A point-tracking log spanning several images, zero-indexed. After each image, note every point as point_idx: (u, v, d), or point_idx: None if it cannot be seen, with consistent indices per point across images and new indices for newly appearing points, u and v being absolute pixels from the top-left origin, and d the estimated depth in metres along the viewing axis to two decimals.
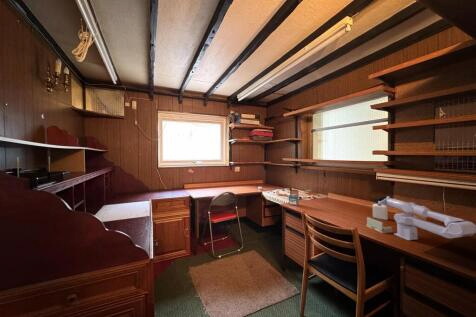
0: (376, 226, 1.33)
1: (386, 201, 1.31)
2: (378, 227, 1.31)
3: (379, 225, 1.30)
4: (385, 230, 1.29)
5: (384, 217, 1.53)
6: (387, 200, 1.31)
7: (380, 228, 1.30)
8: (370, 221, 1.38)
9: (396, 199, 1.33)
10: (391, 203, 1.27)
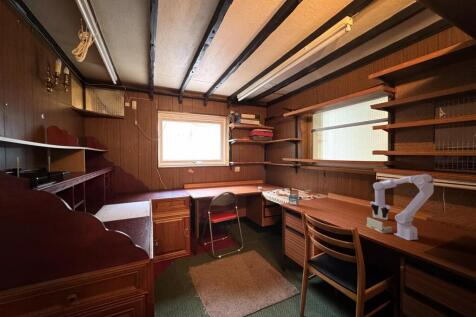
0: (376, 226, 1.33)
1: (382, 204, 1.32)
2: (378, 227, 1.31)
3: (379, 225, 1.30)
4: (385, 230, 1.29)
5: None
6: (380, 203, 1.33)
7: (380, 228, 1.30)
8: (370, 221, 1.38)
9: None
10: (382, 199, 1.32)
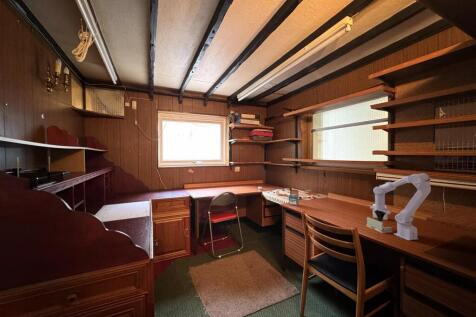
0: (376, 226, 1.33)
1: (382, 209, 1.32)
2: (378, 227, 1.31)
3: (379, 225, 1.30)
4: (385, 230, 1.29)
5: (384, 217, 1.53)
6: (381, 208, 1.33)
7: (380, 228, 1.30)
8: (370, 221, 1.38)
9: (370, 206, 1.42)
10: (383, 204, 1.32)
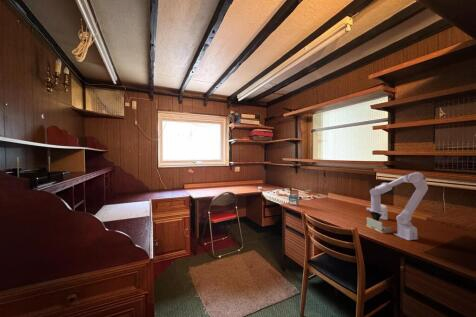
0: (376, 226, 1.33)
1: (378, 210, 1.32)
2: (378, 227, 1.31)
3: (379, 225, 1.30)
4: (385, 230, 1.29)
5: (384, 217, 1.53)
6: (376, 209, 1.32)
7: (380, 228, 1.30)
8: (370, 221, 1.38)
9: (367, 207, 1.41)
10: (378, 205, 1.32)
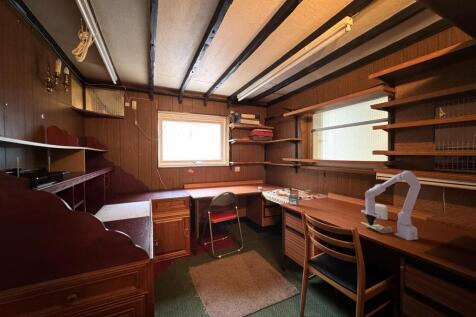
0: None
1: (372, 213, 1.31)
2: None
3: (375, 228, 1.30)
4: (385, 230, 1.29)
5: (384, 217, 1.53)
6: (371, 212, 1.31)
7: (379, 229, 1.29)
8: None
9: (361, 210, 1.40)
10: (373, 208, 1.31)
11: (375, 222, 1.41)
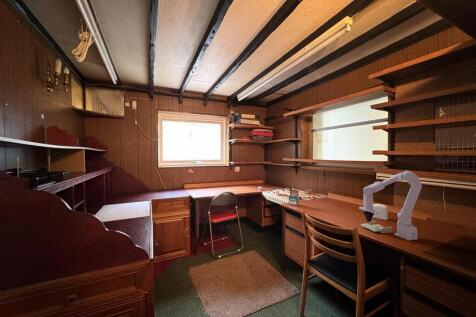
0: None
1: (370, 209, 1.31)
2: None
3: None
4: (385, 230, 1.29)
5: (384, 217, 1.53)
6: (369, 209, 1.31)
7: None
8: None
9: None
10: (371, 204, 1.31)
11: (375, 222, 1.41)
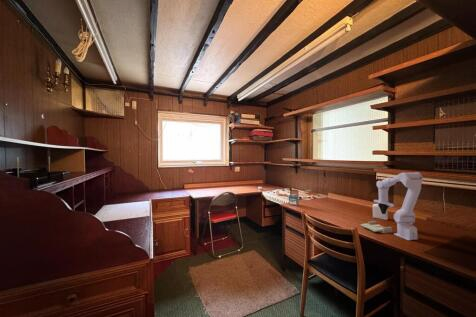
0: None
1: (385, 202, 1.38)
2: None
3: None
4: (385, 230, 1.29)
5: (384, 217, 1.53)
6: (384, 201, 1.38)
7: None
8: None
9: None
10: (386, 197, 1.38)
11: (375, 222, 1.41)
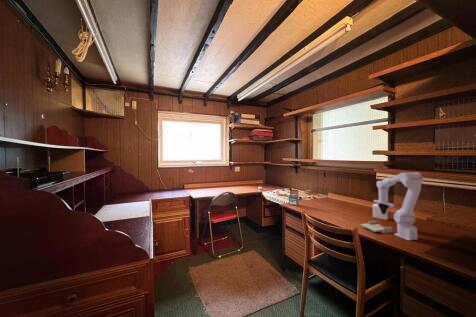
0: None
1: (385, 202, 1.38)
2: None
3: None
4: (385, 230, 1.29)
5: (384, 217, 1.53)
6: (384, 201, 1.38)
7: None
8: None
9: None
10: (386, 197, 1.38)
11: (375, 222, 1.41)
